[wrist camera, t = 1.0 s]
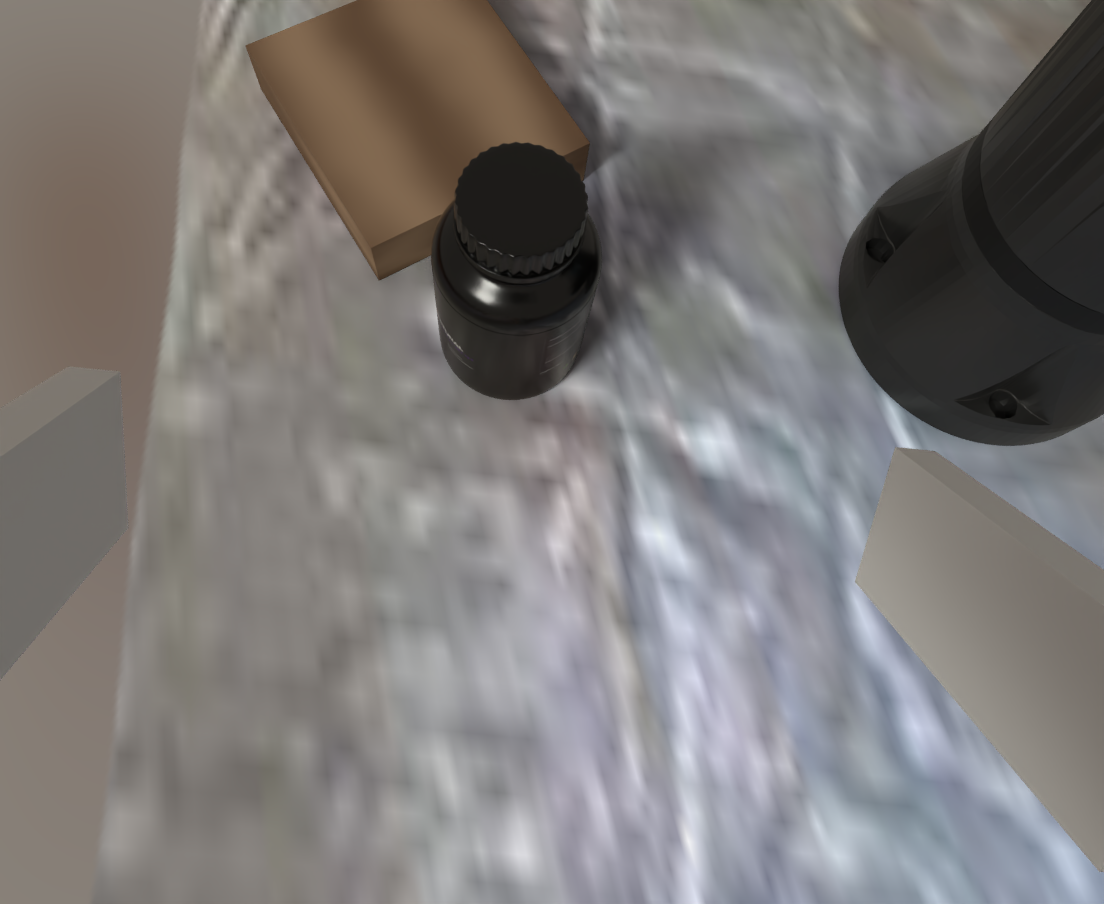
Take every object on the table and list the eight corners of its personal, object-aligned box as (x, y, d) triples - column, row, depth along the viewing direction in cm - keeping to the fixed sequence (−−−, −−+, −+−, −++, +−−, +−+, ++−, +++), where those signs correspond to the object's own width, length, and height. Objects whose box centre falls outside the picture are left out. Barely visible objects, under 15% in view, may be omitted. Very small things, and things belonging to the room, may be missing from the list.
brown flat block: (459, 5, 47) (457, -41, 44) (583, 180, 44) (590, 143, 41) (261, 88, 44) (245, 45, 41) (379, 280, 41) (371, 248, 38)
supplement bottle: (412, 360, 40) (383, 218, 29) (488, 254, 42) (488, 83, 31) (535, 431, 39) (554, 316, 28) (605, 321, 41) (650, 171, 30)
